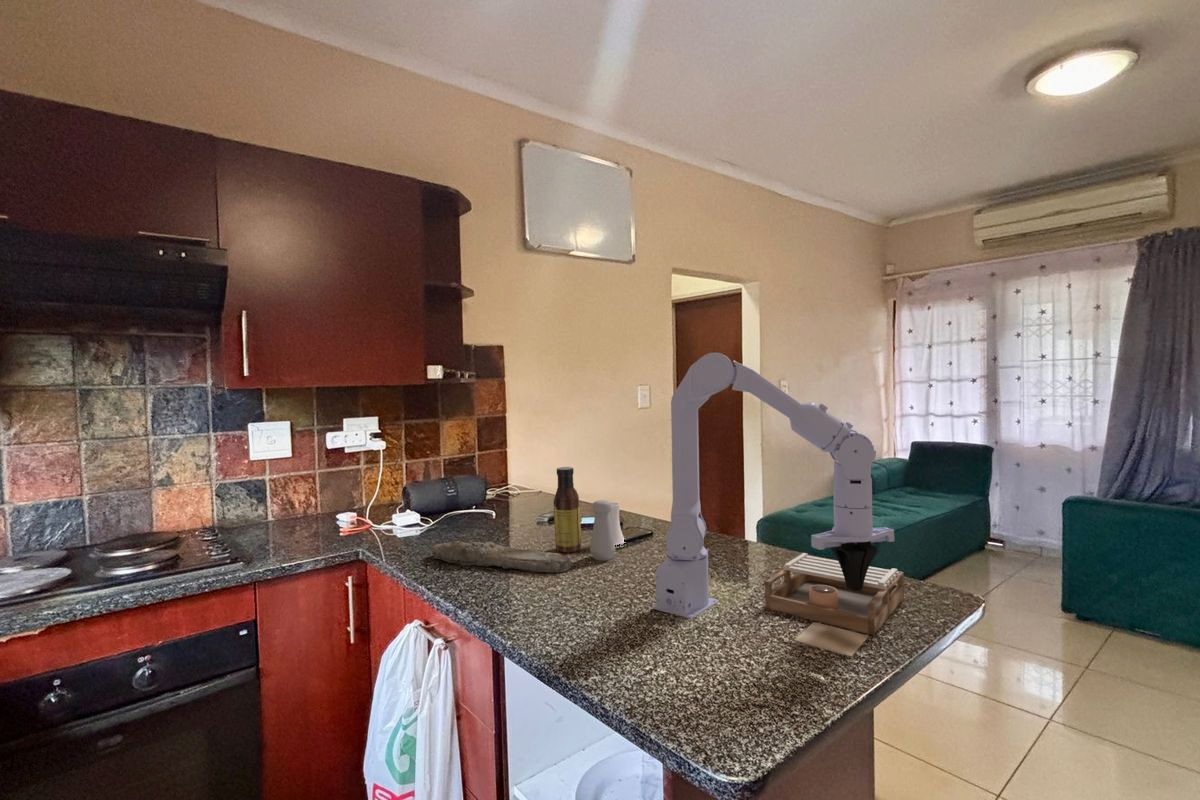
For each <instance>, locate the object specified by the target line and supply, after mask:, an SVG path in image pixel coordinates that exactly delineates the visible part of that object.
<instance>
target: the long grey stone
mask: <svg viewBox="0 0 1200 800" xmlns="http://www.w3.org/2000/svg"><path fill="white" fill-rule="evenodd" d="M430 552H431V555H432V556H434V557H433V558H434V559H438V560H442V561H444V562H448V563H449V564H450V563H452V564H453V563H454V564H455V563H457V564H459V565H460V566H461V565H463V566H470V567H471V566H478V567H491V566H496V567H499V568H500V567H502V569H504V570H505V569H514V570H515V569H516V570H522V571H525V572H531V573H532V572H534V573H536V572H537V573H565V572H568V571H569V570H570V569H571V568H572V561H571V559H570V557H569V556H564V555H563V554H561V553H557V552H545V551H539V550H531V549H520V548H512V547H509V546H504V545H501V544H498V543H495V542H493V541H485V542H479V541H473V542H465V541H464V542H463V541H458V540H452V542H442V543H438V544H435V545H433V547H432V548H431V550H430Z"/></svg>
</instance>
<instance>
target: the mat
mask: <svg viewBox="0 0 1200 800" xmlns="http://www.w3.org/2000/svg"><path fill="white" fill-rule="evenodd" d="M868 638H869V634H865V633H861V632H857V631H853V630H849V629H845V628H841V627H837V626H833V625H829V624H828V625H827V624H825V623H821V622H817V621H814V622H812V623H811V624H810V625H809V626H808V627H806V629H804V631H802V632H801V633H800V634H799V635H798V636H797V637H795V638H794V641H795V642H798V643H801V644H804V645H808V646H812V647H816V648H818V649H822V650H826V651H829V652H832V653H837V654H841V655H844V656H848V657H851V658H852V657H854V655H855V653H857V651H858V650H859V649H860V648H861V646H862V645H863V644H864V643H865V642H866V641H867V639H868Z"/></svg>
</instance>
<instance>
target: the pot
mask: <svg viewBox="0 0 1200 800" xmlns="http://www.w3.org/2000/svg"><path fill="white" fill-rule="evenodd" d="M809 603H810V604H814V605H819V606H823V607H827V608H832V609H836V610H838V590H837V589H836V588H834V587H831V586H827V585H812V586H810V587H809Z"/></svg>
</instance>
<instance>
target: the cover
mask: <svg viewBox="0 0 1200 800" xmlns="http://www.w3.org/2000/svg"><path fill="white" fill-rule="evenodd" d="M808 555H809V553H808V552H807V553H806V552H802V553H801V554H799V555H798V556H796V557H794V558H793V559H791V560H790V561H788V562H786V563H785V564H784V566H783V570H787V571H790V572H792V573H793V572H794V573H803V574H808V575H813V576H818V577H823V578H828V579H833V580H838V581H843V582H845V578H844V575H843V572H842V569H841V566H840V564H839V562H838V560H836V559H830V558H823V557H818V556H813V555H809V556H808ZM899 571H900V570H898V568H893V567H892V568H891V569H888V568H887V569H886V568H881V567H875V566H870V565H869V568H868V570H867V573H866V576H865V580H864V583H863V585H864V586H869V587H874V588H879V589H884V590H885V589H886V588H887V586H889V585H890V583H892V582H893V579H894V580H895V579H896V576H898V575H899Z"/></svg>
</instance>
